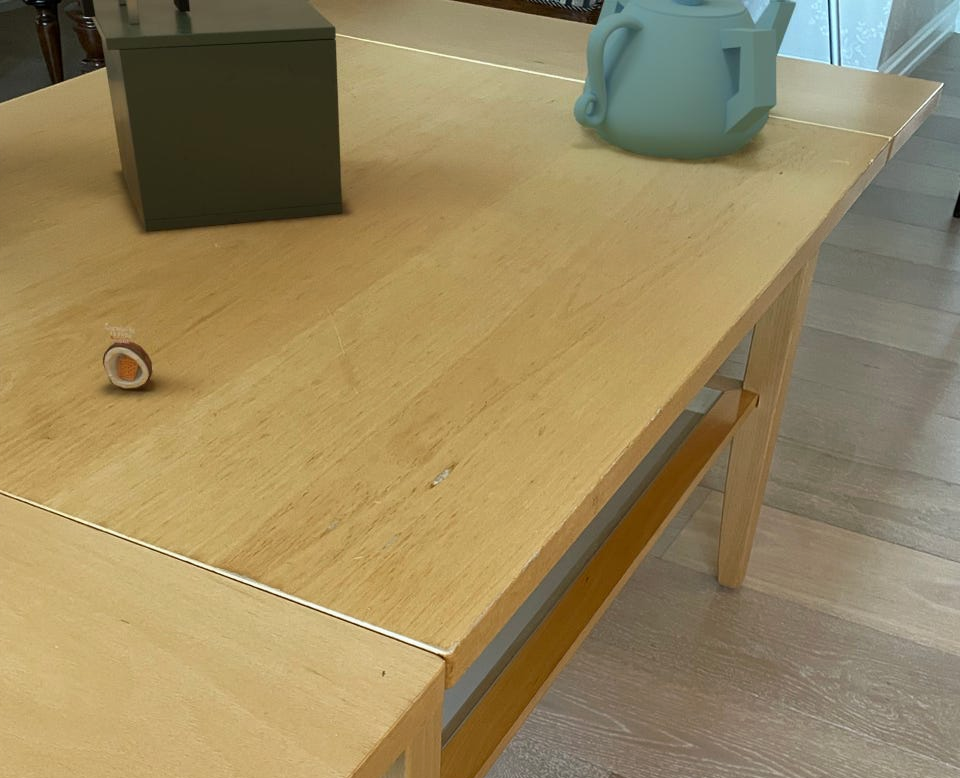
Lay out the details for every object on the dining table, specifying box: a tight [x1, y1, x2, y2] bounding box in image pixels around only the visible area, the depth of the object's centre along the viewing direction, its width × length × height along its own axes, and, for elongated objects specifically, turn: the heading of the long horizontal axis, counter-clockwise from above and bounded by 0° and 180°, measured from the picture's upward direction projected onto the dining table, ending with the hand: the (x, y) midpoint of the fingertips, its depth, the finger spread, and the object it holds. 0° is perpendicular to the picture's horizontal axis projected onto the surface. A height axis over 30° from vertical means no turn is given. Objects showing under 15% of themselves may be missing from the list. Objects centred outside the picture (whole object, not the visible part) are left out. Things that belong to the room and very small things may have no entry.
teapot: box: [573, 0, 797, 160], centre depth 108 cm, size 19×19×14 cm
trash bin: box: [100, 37, 343, 232], centre depth 92 cm, size 16×14×13 cm
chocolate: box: [102, 322, 155, 390], centre depth 69 cm, size 3×2×4 cm
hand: (135, 9), depth 85 cm, fingers closed on bin lid, 6 cm apart
